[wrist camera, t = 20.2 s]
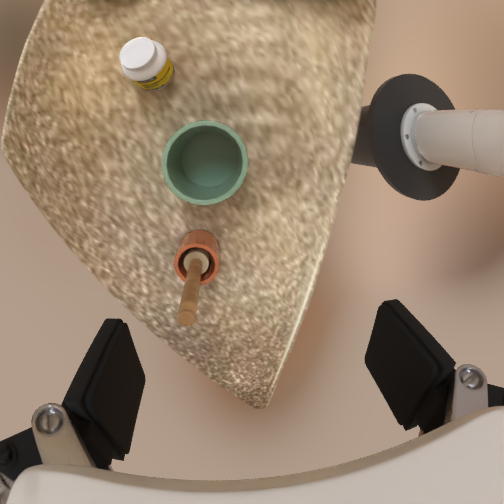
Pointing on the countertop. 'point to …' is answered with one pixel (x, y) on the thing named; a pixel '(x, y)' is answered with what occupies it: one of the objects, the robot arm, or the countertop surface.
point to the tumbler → (204, 162)
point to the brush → (192, 283)
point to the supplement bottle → (146, 63)
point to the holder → (201, 241)
